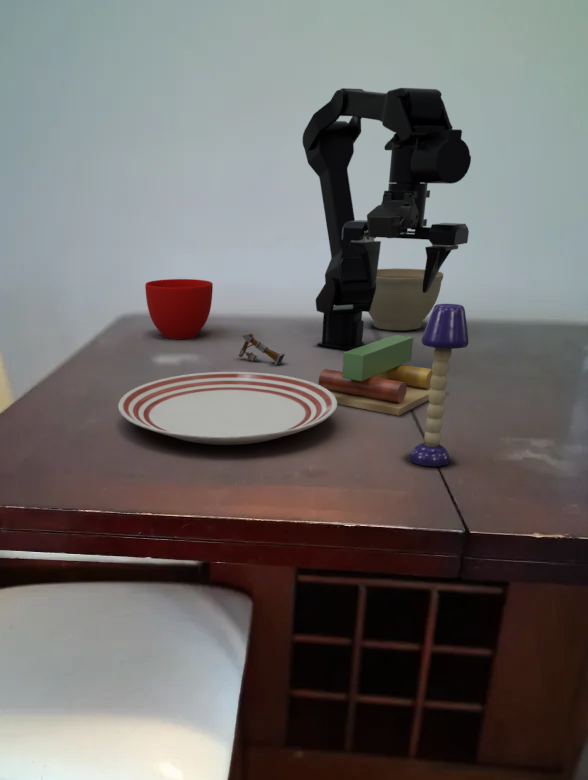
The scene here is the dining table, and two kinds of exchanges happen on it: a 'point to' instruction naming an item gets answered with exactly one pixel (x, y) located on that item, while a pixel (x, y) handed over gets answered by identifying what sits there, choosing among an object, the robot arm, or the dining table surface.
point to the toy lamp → (440, 377)
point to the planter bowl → (402, 298)
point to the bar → (377, 357)
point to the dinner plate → (228, 407)
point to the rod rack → (381, 389)
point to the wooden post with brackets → (261, 347)
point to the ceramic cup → (179, 306)
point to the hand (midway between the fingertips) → (397, 290)
